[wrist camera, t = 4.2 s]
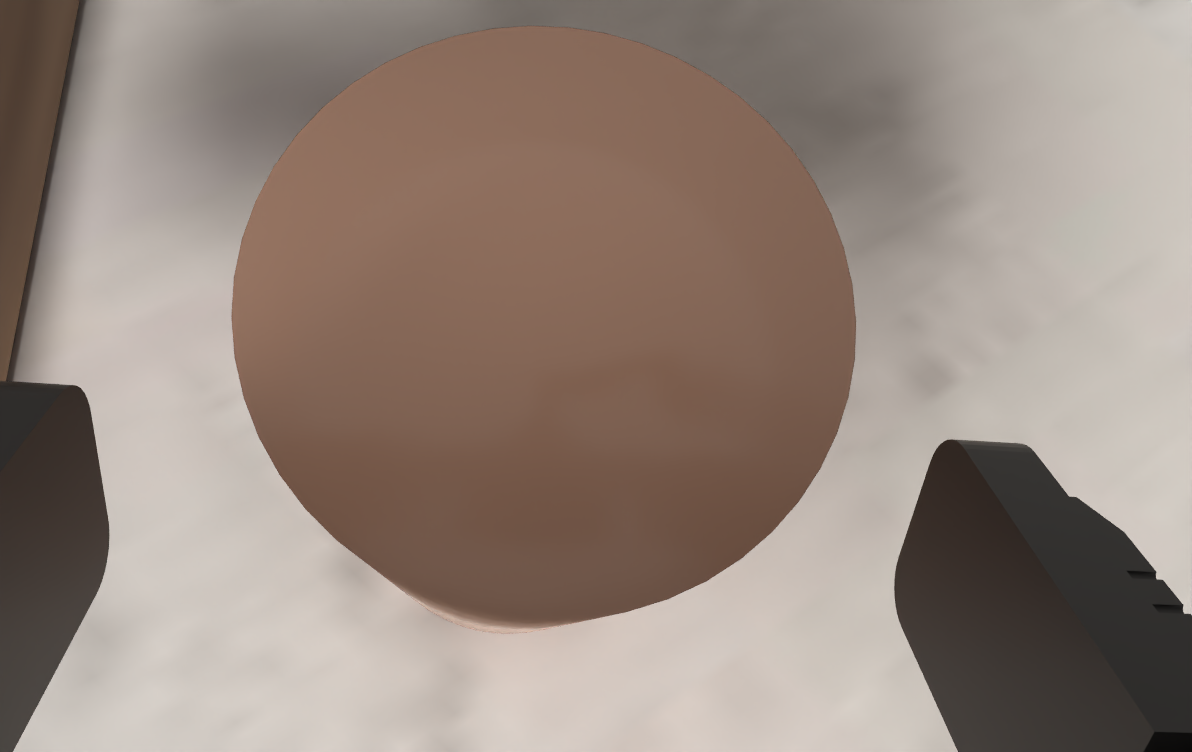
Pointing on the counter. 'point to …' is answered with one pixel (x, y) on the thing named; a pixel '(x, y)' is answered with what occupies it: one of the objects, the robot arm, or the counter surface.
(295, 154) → the tan cylinder
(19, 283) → the square brown tray
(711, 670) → the counter surface
